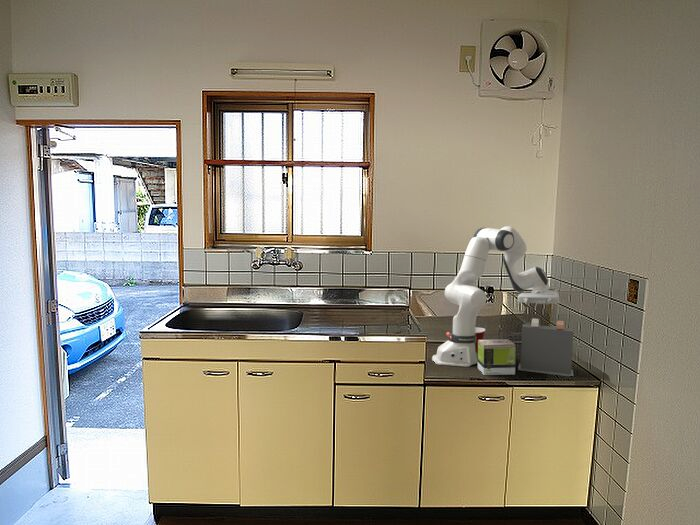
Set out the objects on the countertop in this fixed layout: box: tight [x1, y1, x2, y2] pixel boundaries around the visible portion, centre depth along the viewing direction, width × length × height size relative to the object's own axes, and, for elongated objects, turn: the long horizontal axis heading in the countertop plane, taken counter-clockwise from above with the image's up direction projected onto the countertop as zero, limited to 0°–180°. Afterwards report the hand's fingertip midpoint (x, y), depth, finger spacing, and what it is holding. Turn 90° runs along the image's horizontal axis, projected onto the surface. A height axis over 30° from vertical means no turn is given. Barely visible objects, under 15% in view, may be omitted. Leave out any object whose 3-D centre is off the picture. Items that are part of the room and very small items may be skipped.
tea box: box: [477, 338, 517, 376], centre depth 224 cm, size 15×10×15 cm
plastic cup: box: [475, 326, 486, 353], centre depth 258 cm, size 11×11×12 cm
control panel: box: [517, 323, 574, 377], centre depth 225 cm, size 24×8×21 cm, turn 67°
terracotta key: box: [554, 320, 565, 329], centre depth 225 cm, size 4×10×7 cm, turn 157°
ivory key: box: [530, 317, 540, 327], centre depth 229 cm, size 4×10×7 cm, turn 157°
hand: (537, 302), depth 242 cm, fingers open, 8 cm apart
